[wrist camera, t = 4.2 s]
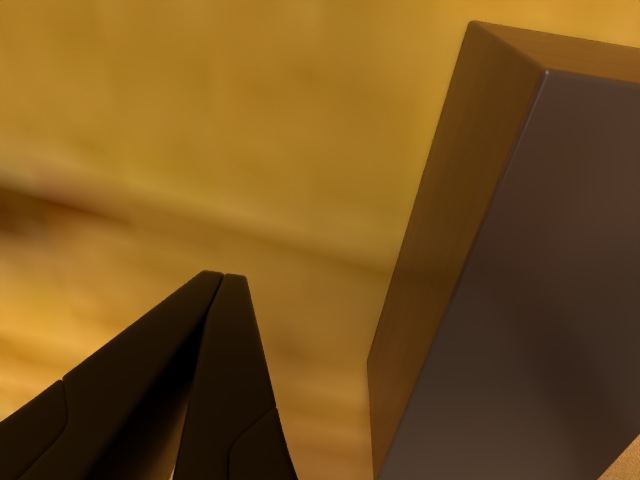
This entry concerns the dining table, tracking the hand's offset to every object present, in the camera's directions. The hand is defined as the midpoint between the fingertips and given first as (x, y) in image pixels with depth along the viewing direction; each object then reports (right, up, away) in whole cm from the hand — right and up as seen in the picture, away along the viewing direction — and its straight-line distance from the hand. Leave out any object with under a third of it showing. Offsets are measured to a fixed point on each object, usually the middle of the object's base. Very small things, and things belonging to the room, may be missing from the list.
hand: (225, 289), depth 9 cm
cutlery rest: (+7, +1, +3) cm, 7 cm away
